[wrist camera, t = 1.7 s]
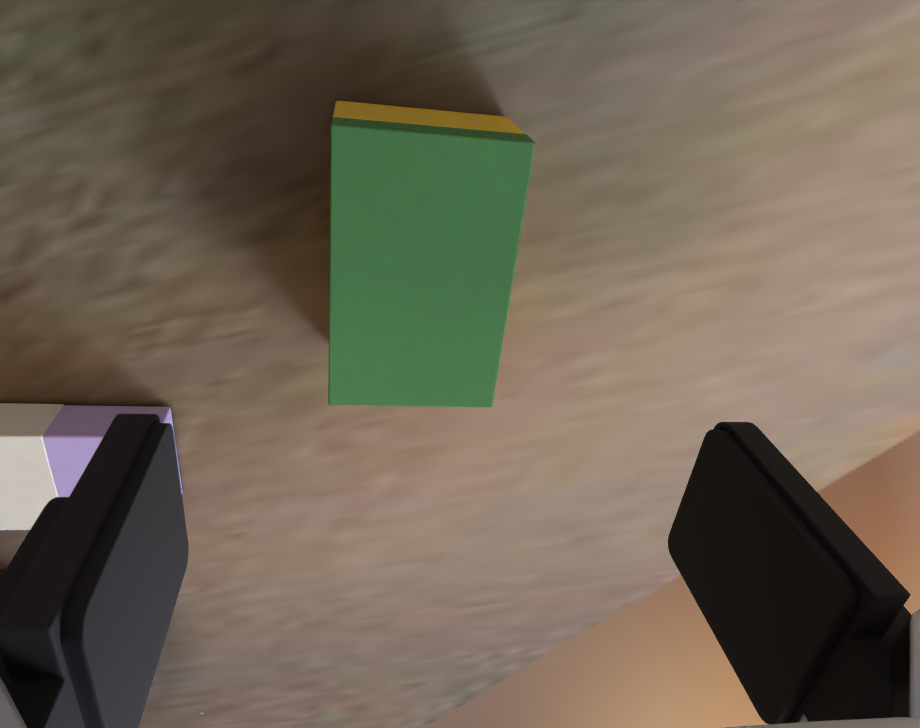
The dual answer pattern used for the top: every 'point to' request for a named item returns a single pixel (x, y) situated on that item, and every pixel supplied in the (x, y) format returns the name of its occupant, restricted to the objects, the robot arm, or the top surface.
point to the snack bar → (50, 453)
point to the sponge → (421, 252)
